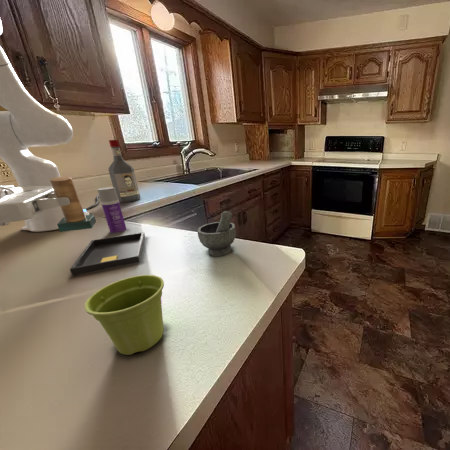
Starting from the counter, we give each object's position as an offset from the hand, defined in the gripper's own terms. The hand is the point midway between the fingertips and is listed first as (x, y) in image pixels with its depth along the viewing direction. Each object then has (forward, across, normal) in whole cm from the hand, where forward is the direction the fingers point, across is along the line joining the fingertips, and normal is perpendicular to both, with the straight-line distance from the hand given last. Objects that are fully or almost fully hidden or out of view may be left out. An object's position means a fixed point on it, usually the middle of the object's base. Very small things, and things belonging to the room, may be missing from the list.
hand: (73, 198), depth 57 cm
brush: (-1, +1, +7) cm, 7 cm away
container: (+2, +24, +17) cm, 29 cm away
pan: (+4, +3, +17) cm, 17 cm away
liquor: (-1, +80, +17) cm, 82 cm away
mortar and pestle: (+30, -10, +17) cm, 36 cm away
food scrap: (+4, -4, +16) cm, 17 cm away
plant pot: (+13, -36, +17) cm, 42 cm away
